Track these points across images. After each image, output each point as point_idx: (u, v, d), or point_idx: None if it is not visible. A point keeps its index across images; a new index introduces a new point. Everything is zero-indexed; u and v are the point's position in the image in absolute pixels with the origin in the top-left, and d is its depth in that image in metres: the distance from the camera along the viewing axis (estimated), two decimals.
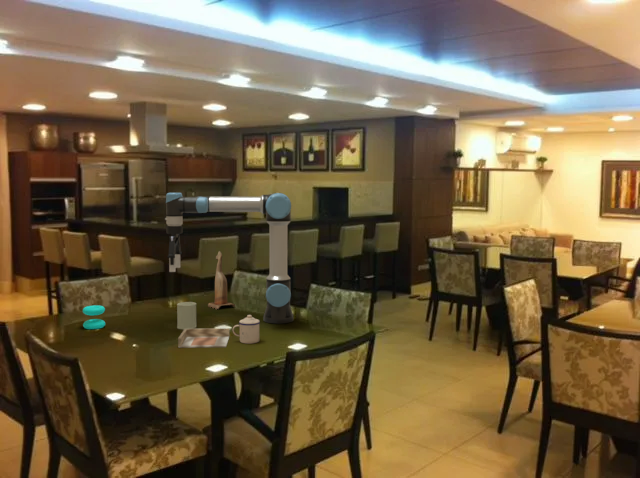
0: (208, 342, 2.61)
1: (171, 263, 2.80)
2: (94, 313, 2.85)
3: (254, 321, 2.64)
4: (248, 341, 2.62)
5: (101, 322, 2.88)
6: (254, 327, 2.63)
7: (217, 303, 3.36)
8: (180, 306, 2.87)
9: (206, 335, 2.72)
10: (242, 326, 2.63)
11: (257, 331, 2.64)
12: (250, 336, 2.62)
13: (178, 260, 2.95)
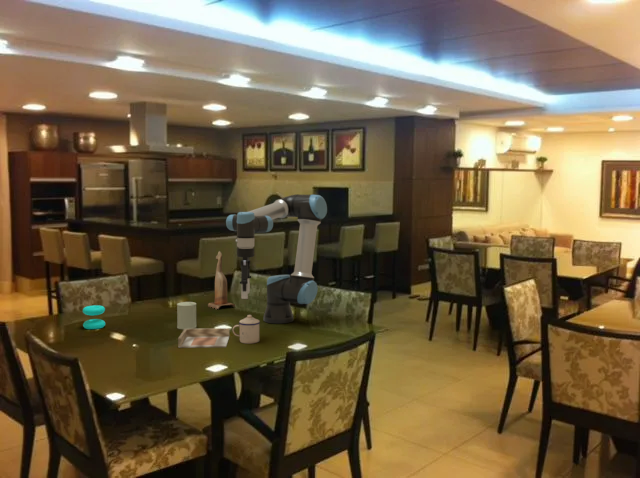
0: (208, 342, 2.61)
1: (244, 289, 2.56)
2: (94, 313, 2.85)
3: (254, 321, 2.64)
4: (248, 341, 2.62)
5: (101, 322, 2.88)
6: (254, 327, 2.63)
7: (217, 303, 3.36)
8: (180, 306, 2.87)
9: (206, 335, 2.72)
10: (242, 326, 2.63)
11: (257, 331, 2.64)
12: (250, 336, 2.62)
13: (247, 285, 2.71)
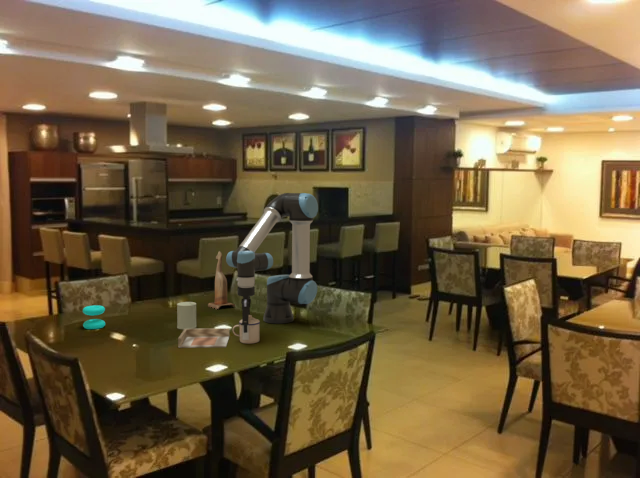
0: (208, 342, 2.61)
1: (245, 331, 2.60)
2: (94, 313, 2.85)
3: (254, 321, 2.64)
4: (248, 341, 2.62)
5: (101, 322, 2.88)
6: (254, 327, 2.63)
7: (217, 303, 3.36)
8: (180, 306, 2.87)
9: (206, 335, 2.72)
10: None
11: (257, 331, 2.64)
12: (250, 336, 2.62)
13: None
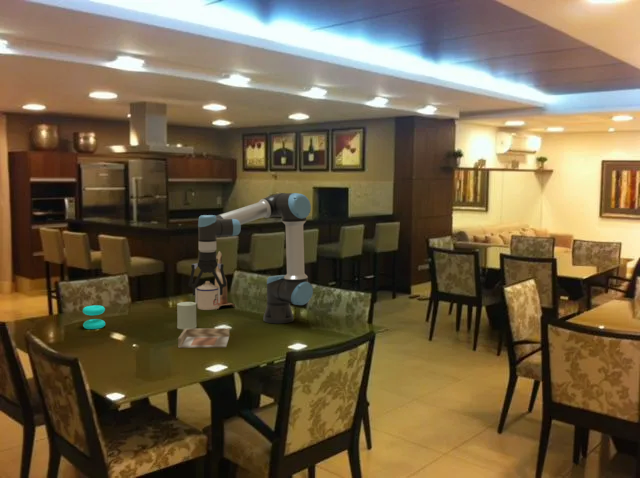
0: (208, 342, 2.61)
1: None
2: (94, 313, 2.85)
3: (201, 287, 2.57)
4: None
5: (101, 322, 2.88)
6: (198, 292, 2.58)
7: None
8: (180, 306, 2.87)
9: (206, 335, 2.72)
10: None
11: (201, 298, 2.57)
12: None
13: (218, 294, 2.62)
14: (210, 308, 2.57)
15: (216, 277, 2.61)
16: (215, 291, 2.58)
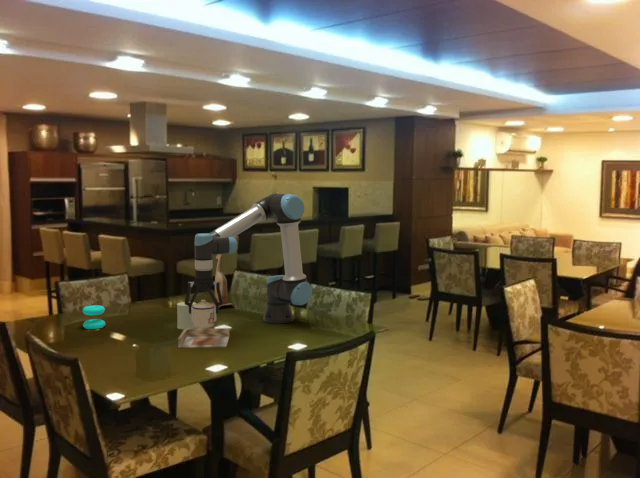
0: (208, 342, 2.61)
1: None
2: (94, 313, 2.85)
3: (196, 305, 2.58)
4: None
5: (101, 322, 2.88)
6: (194, 311, 2.58)
7: None
8: (180, 306, 2.87)
9: (206, 335, 2.72)
10: None
11: (197, 316, 2.57)
12: (193, 319, 2.60)
13: (214, 313, 2.62)
14: (205, 326, 2.57)
15: (212, 295, 2.61)
16: (210, 310, 2.58)
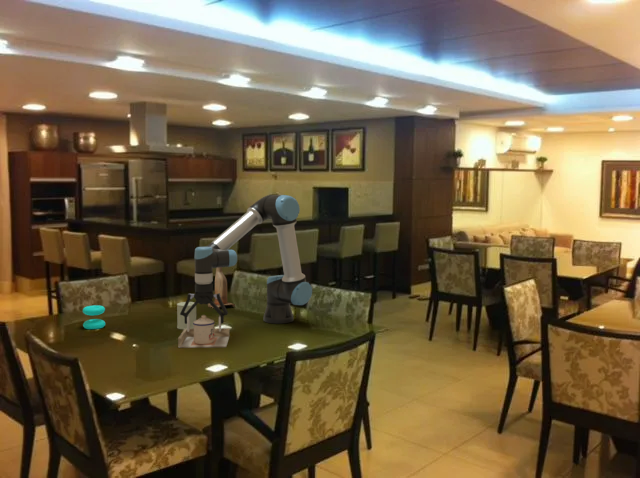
0: None
1: None
2: (94, 313, 2.85)
3: (196, 321, 2.59)
4: None
5: (101, 322, 2.88)
6: (194, 327, 2.59)
7: (217, 303, 3.36)
8: (180, 306, 2.87)
9: None
10: None
11: (197, 332, 2.58)
12: None
13: (219, 323, 2.63)
14: (206, 342, 2.58)
15: (215, 307, 2.61)
16: (211, 325, 2.59)
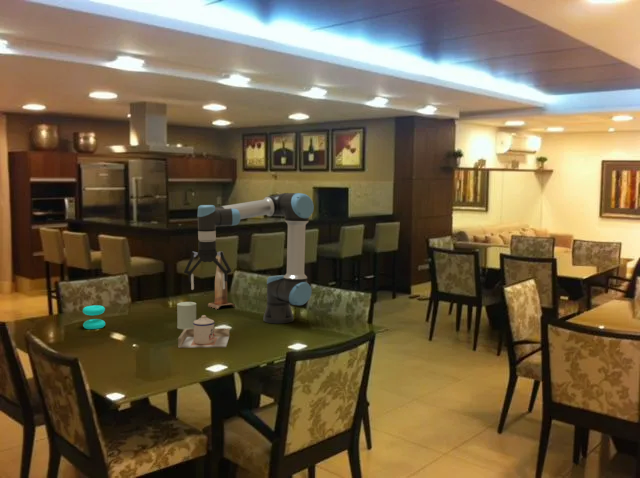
0: None
1: None
2: (94, 313, 2.85)
3: (197, 321, 2.59)
4: None
5: (101, 322, 2.88)
6: (194, 327, 2.59)
7: (217, 303, 3.36)
8: (180, 306, 2.87)
9: None
10: None
11: (197, 332, 2.58)
12: None
13: None
14: (206, 343, 2.58)
15: (218, 265, 2.63)
16: (211, 326, 2.59)
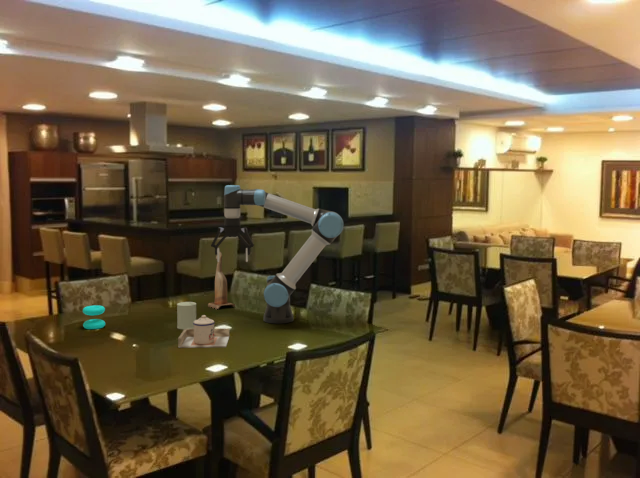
0: None
1: (215, 253, 2.90)
2: (94, 313, 2.85)
3: (197, 321, 2.59)
4: None
5: (101, 322, 2.88)
6: (194, 327, 2.59)
7: (217, 303, 3.36)
8: (180, 306, 2.87)
9: None
10: None
11: (197, 332, 2.58)
12: None
13: (246, 254, 2.91)
14: (206, 343, 2.58)
15: (242, 239, 2.89)
16: (211, 326, 2.59)
